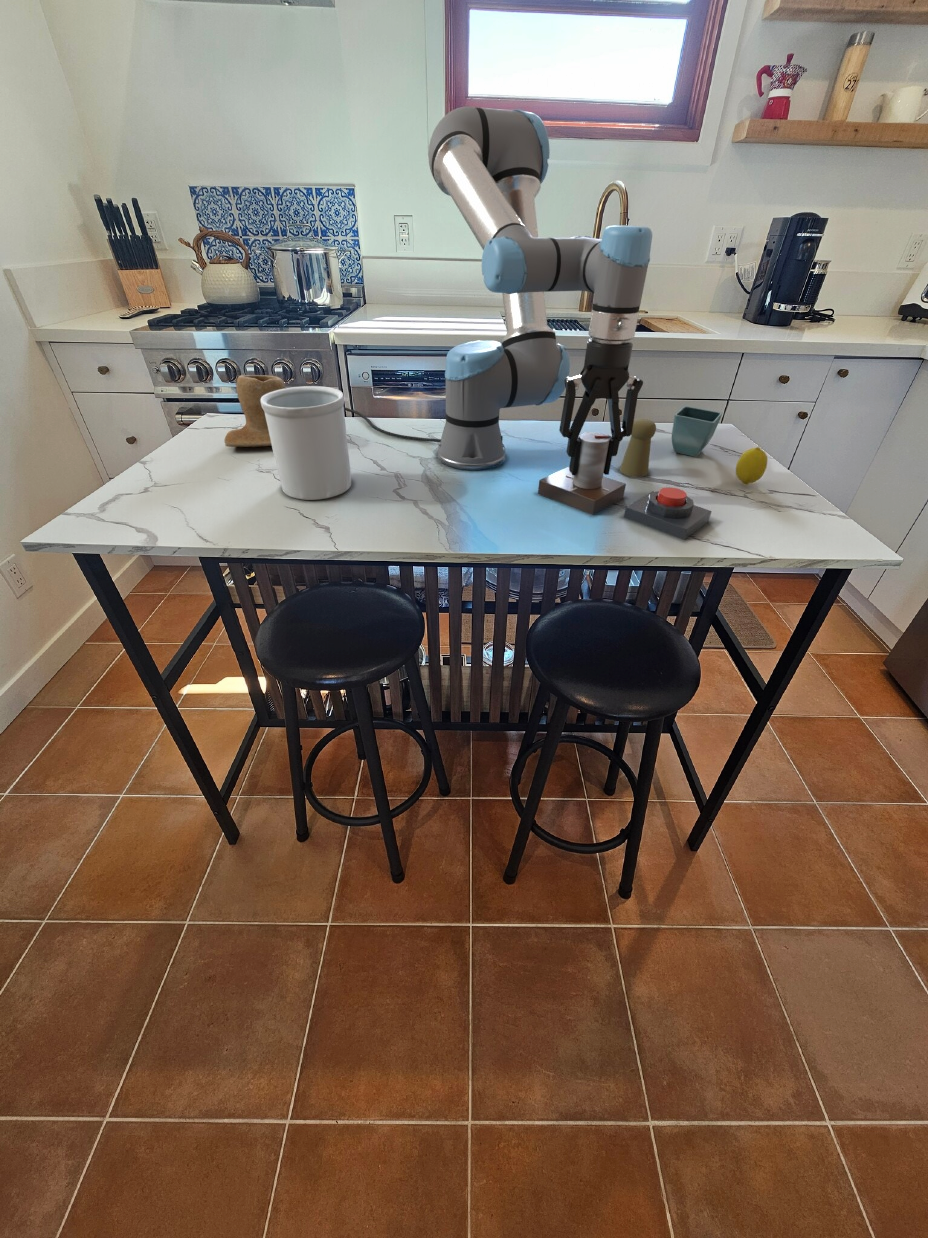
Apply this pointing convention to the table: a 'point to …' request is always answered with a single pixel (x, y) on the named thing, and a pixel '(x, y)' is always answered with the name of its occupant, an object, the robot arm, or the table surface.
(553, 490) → the control panel
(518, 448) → the table surface
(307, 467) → the utensil holder
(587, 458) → the knob
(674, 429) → the flower pot
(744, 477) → the lemon
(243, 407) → the tan felt boot
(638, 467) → the olive pawn figure
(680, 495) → the button
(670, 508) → the button box
